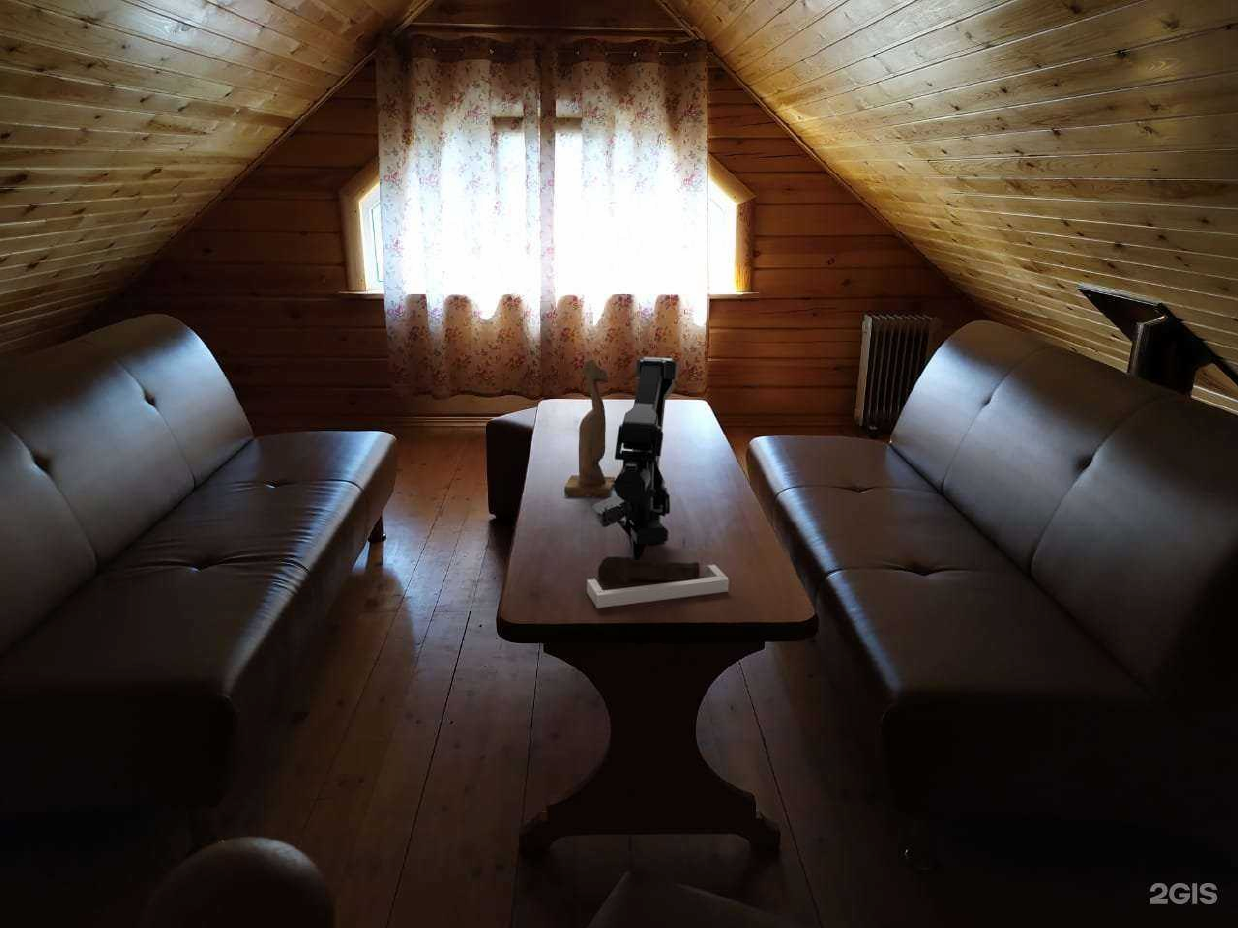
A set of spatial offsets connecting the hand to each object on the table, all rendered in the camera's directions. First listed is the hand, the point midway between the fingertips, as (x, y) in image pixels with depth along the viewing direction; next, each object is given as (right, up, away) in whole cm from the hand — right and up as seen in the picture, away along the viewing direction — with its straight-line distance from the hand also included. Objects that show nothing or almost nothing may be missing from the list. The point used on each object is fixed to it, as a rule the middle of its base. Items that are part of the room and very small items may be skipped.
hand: (636, 559), depth 172 cm
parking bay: (+4, -5, -11) cm, 12 cm away
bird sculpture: (-10, +12, +41) cm, 44 cm away
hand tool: (+2, -4, -6) cm, 8 cm away
